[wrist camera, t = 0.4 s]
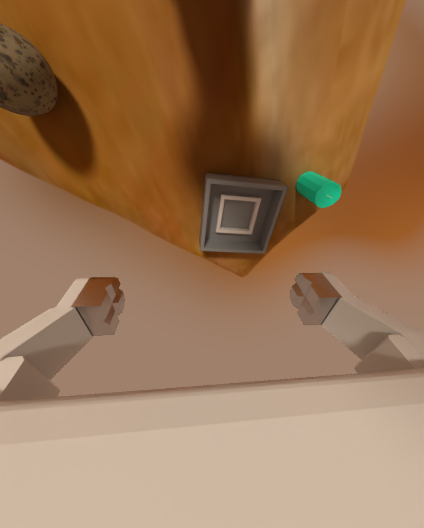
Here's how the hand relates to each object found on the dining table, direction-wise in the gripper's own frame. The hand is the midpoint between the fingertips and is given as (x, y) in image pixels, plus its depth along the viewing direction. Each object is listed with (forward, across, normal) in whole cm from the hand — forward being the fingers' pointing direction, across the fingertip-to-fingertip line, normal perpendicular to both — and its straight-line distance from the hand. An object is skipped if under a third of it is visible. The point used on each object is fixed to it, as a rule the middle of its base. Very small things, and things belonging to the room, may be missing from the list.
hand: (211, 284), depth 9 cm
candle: (+46, -30, +7) cm, 56 cm away
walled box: (+46, -12, +16) cm, 50 cm away
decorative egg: (+46, +29, -10) cm, 56 cm away
